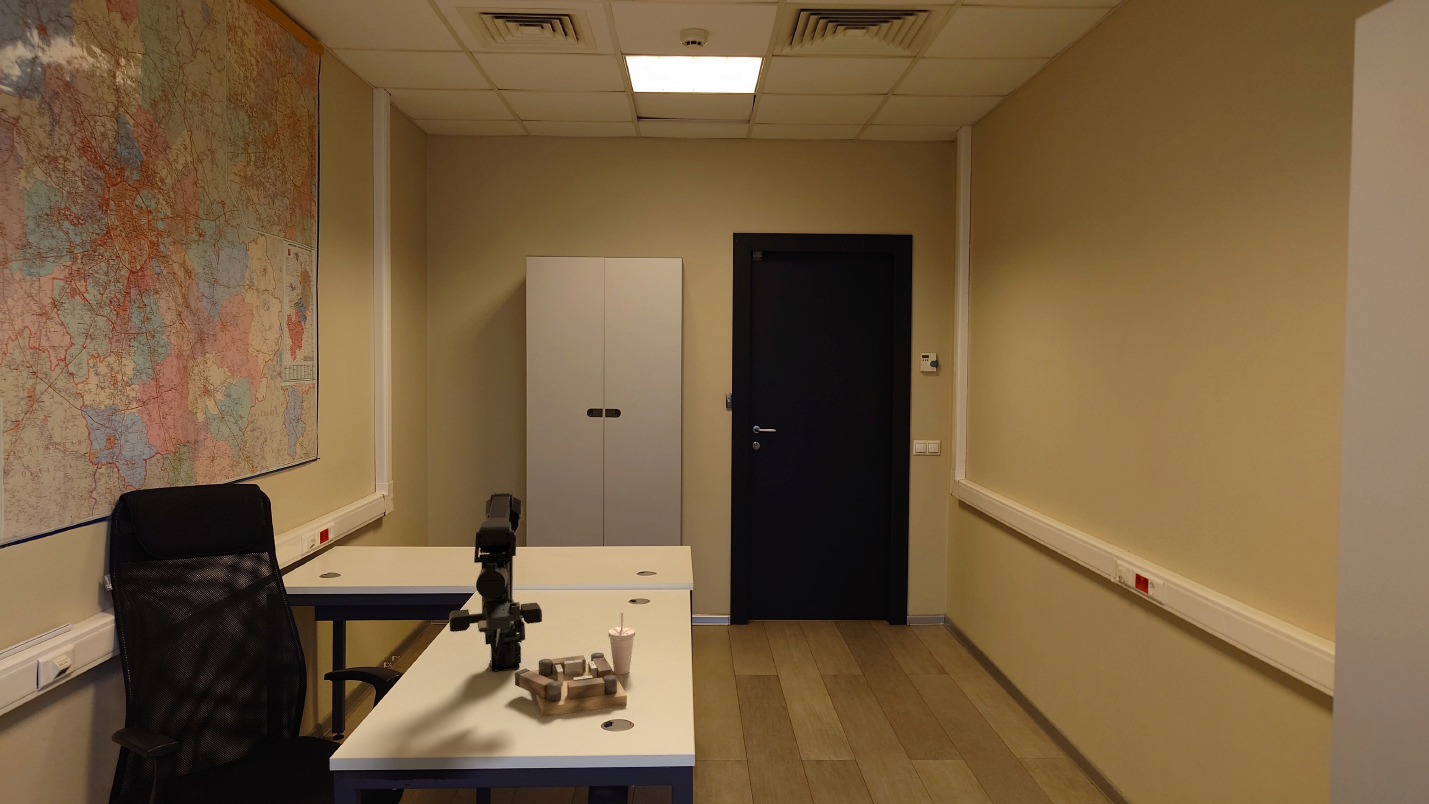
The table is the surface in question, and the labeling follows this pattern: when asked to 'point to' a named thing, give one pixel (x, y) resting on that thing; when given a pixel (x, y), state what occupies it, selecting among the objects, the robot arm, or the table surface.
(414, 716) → the table surface
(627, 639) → the smoothie
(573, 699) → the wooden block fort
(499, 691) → the table surface
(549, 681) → the leg
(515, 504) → the robot arm
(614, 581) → the table surface
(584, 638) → the table surface
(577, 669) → the brackets
